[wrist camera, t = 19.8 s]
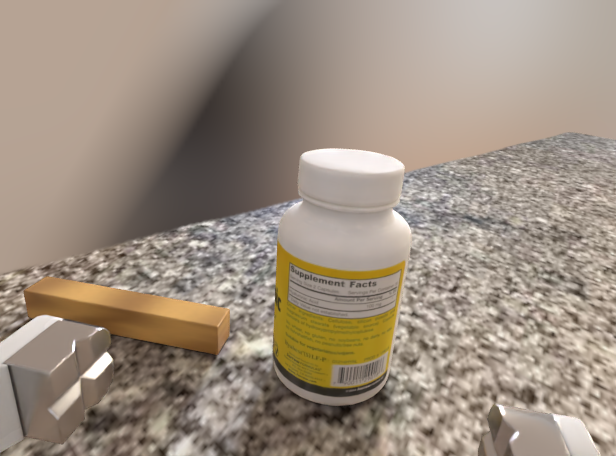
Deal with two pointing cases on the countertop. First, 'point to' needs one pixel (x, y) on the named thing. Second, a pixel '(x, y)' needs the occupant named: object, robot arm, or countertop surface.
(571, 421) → the robot arm
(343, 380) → the supplement bottle
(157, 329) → the wooden bar
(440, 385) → the countertop surface
